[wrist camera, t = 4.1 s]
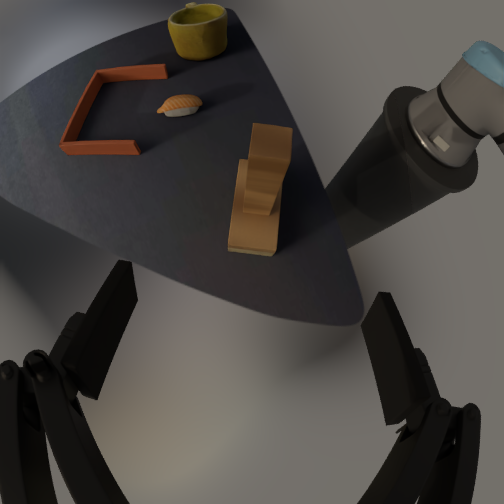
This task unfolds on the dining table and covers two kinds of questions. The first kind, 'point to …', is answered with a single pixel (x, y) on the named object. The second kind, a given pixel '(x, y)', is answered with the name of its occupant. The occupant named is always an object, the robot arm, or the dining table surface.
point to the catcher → (85, 103)
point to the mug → (199, 31)
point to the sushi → (180, 105)
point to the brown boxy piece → (260, 191)
